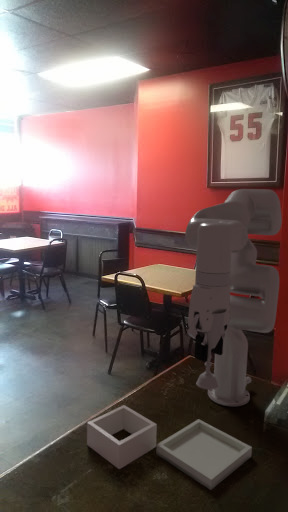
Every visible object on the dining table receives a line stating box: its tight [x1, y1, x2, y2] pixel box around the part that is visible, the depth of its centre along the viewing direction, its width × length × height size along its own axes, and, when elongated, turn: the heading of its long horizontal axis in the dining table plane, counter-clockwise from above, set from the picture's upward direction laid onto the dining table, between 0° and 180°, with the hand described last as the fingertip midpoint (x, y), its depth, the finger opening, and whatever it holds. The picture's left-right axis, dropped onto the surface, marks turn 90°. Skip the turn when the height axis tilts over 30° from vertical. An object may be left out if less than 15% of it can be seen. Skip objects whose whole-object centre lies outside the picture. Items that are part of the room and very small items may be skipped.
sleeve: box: [86, 404, 158, 470], centre depth 100 cm, size 12×12×6 cm
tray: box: [155, 418, 253, 491], centre depth 97 cm, size 16×16×2 cm
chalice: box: [195, 309, 227, 391], centre depth 93 cm, size 7×7×18 cm
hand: (208, 355), depth 93 cm, fingers closed on chalice, 4 cm apart
